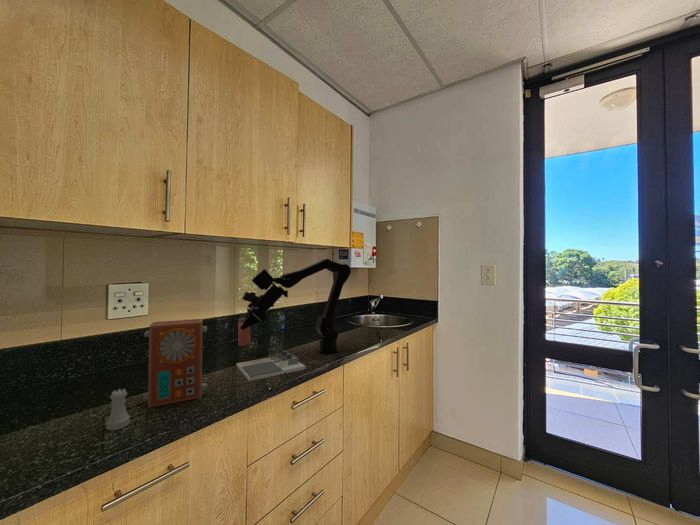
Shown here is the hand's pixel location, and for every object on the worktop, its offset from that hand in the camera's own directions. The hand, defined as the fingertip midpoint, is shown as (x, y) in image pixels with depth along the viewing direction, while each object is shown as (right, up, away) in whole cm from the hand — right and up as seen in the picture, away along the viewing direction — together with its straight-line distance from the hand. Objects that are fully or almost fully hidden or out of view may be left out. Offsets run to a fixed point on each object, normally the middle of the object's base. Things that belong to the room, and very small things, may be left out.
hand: (240, 327), depth 112 cm
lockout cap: (+1, -7, 0) cm, 7 cm away
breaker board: (+13, -13, -6) cm, 20 cm away
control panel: (-6, -13, -31) cm, 34 cm away
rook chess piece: (-11, -13, -45) cm, 48 cm away
